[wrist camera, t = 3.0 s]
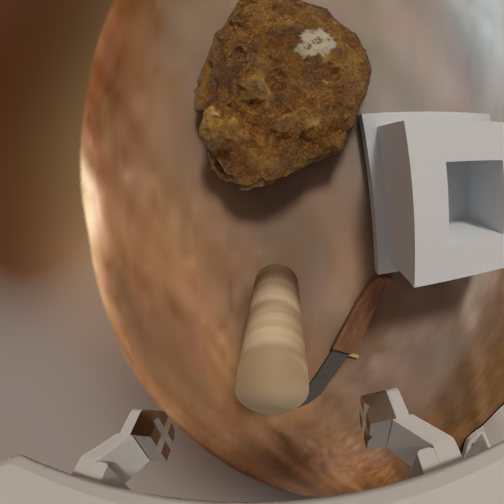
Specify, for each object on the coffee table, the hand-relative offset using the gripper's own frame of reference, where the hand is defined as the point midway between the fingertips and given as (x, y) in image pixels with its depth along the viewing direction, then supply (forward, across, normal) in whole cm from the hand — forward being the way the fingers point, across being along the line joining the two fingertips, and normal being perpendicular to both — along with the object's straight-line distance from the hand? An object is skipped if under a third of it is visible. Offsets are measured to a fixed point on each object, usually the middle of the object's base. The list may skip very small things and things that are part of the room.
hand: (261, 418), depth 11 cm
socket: (+14, -14, -6) cm, 21 cm away
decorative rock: (+14, -3, -14) cm, 20 cm away
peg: (+14, 0, 0) cm, 14 cm away
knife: (+14, -6, +8) cm, 17 cm away
